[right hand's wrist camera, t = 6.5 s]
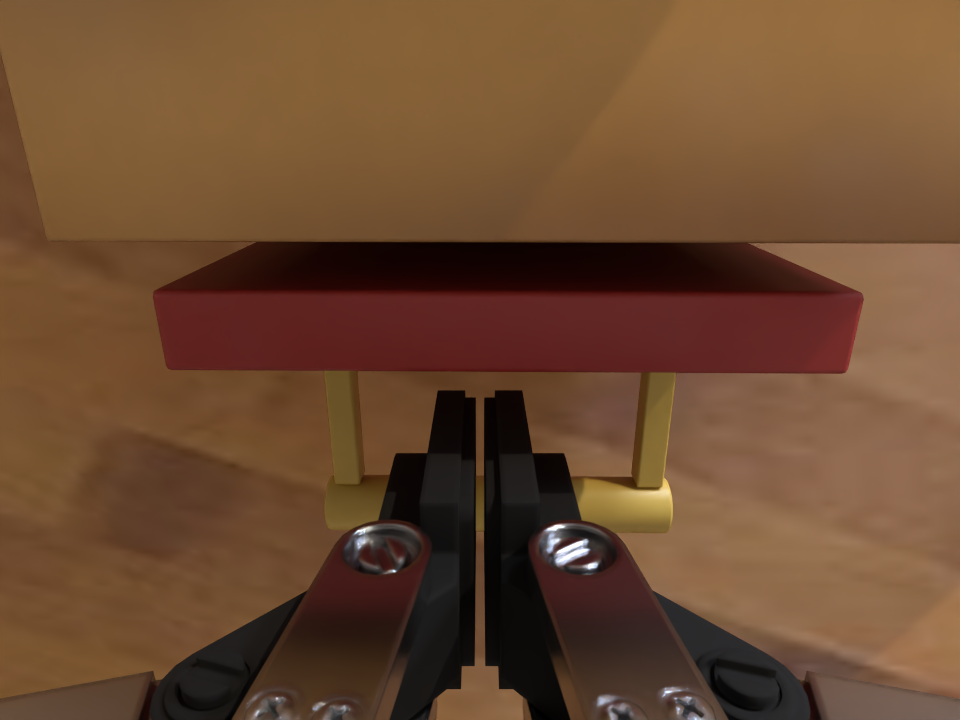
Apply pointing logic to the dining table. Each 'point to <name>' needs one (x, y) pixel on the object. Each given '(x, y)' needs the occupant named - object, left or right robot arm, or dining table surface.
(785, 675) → the right robot arm
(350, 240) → the cabinet
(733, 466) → the dining table surface
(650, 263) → the drawer
